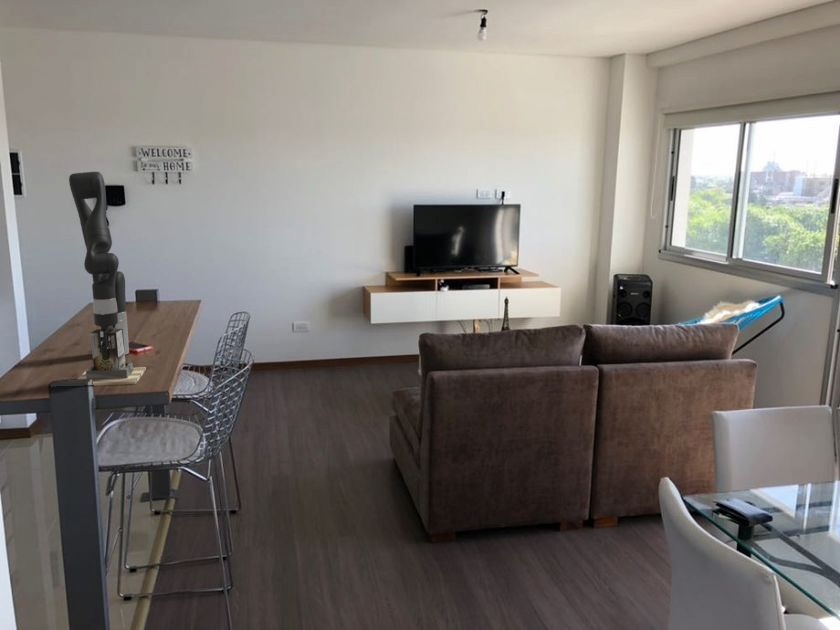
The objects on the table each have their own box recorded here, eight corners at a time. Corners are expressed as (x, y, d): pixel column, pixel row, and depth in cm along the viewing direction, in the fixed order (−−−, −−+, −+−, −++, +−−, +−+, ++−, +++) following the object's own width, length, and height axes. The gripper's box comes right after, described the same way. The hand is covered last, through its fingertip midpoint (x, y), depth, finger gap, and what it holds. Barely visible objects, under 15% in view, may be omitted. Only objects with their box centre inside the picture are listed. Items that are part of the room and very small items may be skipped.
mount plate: (87, 372, 243) (86, 361, 242) (146, 369, 247) (145, 359, 246) (72, 386, 225) (71, 375, 225) (135, 384, 229) (134, 372, 229)
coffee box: (127, 372, 239) (123, 328, 236) (120, 377, 233) (116, 332, 230) (101, 372, 239) (97, 328, 236) (93, 377, 233) (89, 332, 230)
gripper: (99, 307, 238) (102, 351, 241) (87, 315, 224) (91, 362, 227) (121, 307, 239) (125, 351, 242) (111, 314, 225) (115, 361, 228)
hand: (109, 356), depth 235 cm, fingers open, 8 cm apart
